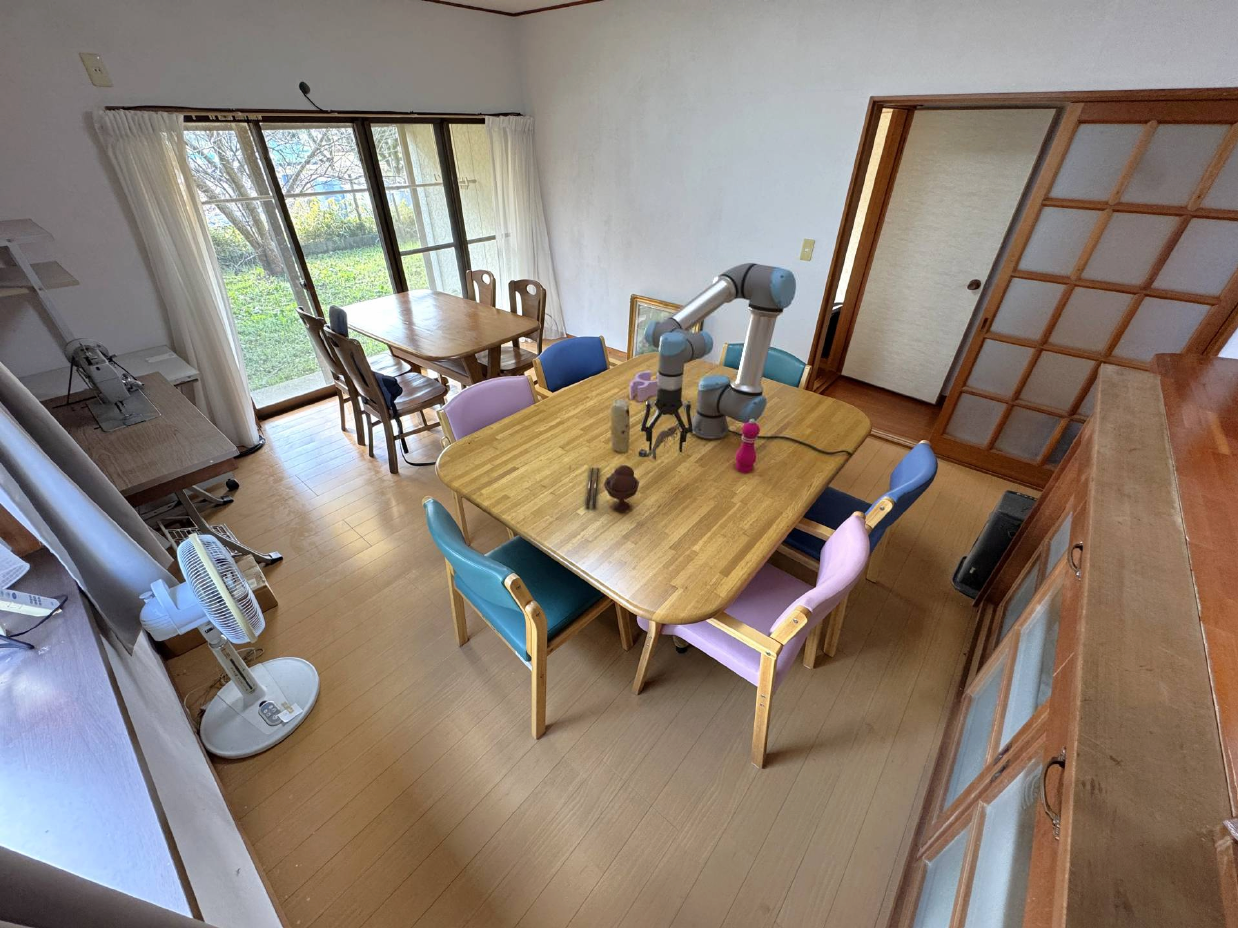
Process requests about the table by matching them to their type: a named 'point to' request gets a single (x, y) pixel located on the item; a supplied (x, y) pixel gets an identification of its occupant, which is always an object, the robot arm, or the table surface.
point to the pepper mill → (747, 447)
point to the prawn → (660, 441)
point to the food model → (620, 425)
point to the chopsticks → (594, 488)
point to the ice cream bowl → (622, 487)
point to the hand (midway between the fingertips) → (665, 449)
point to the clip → (643, 386)
